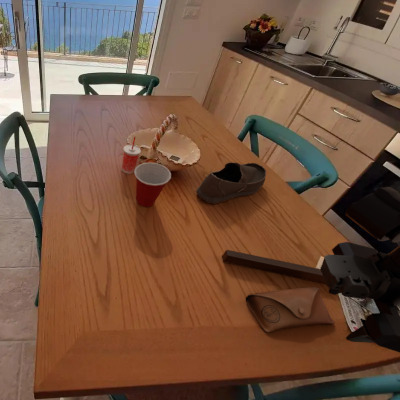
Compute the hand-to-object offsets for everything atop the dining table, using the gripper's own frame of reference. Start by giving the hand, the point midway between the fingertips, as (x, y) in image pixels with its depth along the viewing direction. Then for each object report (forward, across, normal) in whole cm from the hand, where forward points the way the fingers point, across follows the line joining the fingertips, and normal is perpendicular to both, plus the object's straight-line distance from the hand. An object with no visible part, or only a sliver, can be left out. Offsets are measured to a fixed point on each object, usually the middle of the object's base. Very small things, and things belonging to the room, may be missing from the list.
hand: (339, 315), depth 49 cm
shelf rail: (+12, -18, -2) cm, 22 cm away
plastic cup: (+12, -32, -39) cm, 51 cm away
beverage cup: (+12, -47, -48) cm, 68 cm away
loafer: (+12, -50, -11) cm, 52 cm away
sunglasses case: (+13, -7, -1) cm, 14 cm away
